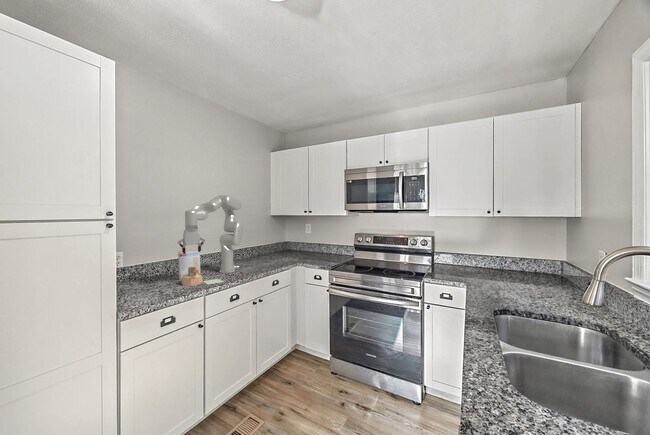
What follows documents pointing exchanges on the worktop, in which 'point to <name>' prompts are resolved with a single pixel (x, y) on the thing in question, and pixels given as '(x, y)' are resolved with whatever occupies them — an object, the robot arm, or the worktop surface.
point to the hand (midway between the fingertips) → (191, 252)
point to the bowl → (191, 281)
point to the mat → (213, 281)
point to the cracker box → (188, 262)
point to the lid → (192, 273)
